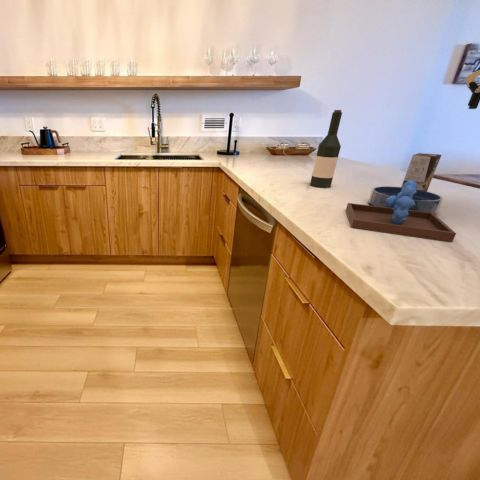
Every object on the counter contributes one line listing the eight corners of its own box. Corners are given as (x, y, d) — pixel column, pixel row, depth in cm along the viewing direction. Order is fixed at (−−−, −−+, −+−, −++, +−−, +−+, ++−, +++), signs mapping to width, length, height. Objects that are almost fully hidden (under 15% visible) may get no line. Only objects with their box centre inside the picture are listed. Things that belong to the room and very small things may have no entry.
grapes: (380, 214, 88) (393, 175, 84) (408, 219, 85) (424, 178, 80) (376, 224, 80) (390, 182, 75) (406, 230, 76) (424, 186, 71)
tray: (429, 220, 86) (432, 212, 85) (452, 242, 71) (456, 233, 70) (345, 209, 94) (347, 202, 93) (351, 227, 80) (353, 219, 79)
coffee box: (418, 204, 100) (436, 156, 93) (395, 200, 105) (412, 154, 98) (424, 199, 105) (442, 154, 98) (403, 195, 110) (419, 152, 103)
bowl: (426, 203, 100) (431, 189, 98) (445, 220, 86) (452, 204, 83) (364, 197, 108) (368, 184, 106) (372, 211, 93) (377, 196, 91)
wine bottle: (306, 185, 124) (322, 109, 112) (313, 182, 130) (330, 109, 117) (327, 189, 119) (346, 110, 106) (333, 185, 124) (353, 110, 112)
